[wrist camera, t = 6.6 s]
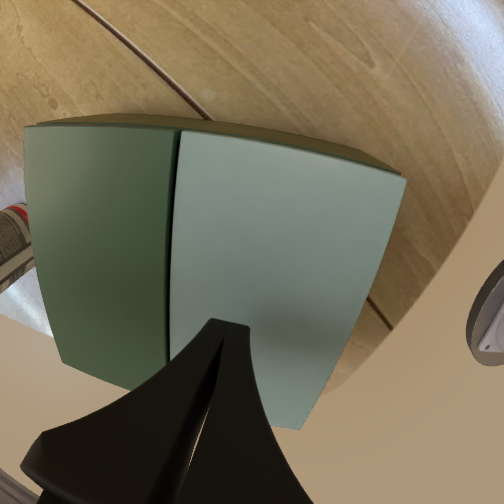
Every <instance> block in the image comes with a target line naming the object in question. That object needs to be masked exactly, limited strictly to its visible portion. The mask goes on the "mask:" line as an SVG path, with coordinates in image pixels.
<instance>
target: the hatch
mask: <svg viewBox="0 0 504 504" xmlns="http://www.w3.org/2000/svg"><path fill="white" fill-rule="evenodd" d="M406 183H407V179H406V178H405V177H403V176H400V175H397V174H394V173H391V172H387V171H384V170H381V169H377V168H374V167H370V166H367V165H363V164H360V163H356V162H352V161H348V160H345V159H341V158H337V157H333V156H329V155H324V154H320V153H316V152H312V151H307V150H303V149H298V148H293V147H288V146H284V145H278V144H273V143H268V142H263V141H257V140H251V139H245V138H239V137H233V136H226V135H219V134H212V133H205V132H197V131H188V130H186V131H182V132H181V140H180V149H179V158H178V168H177V178H176V189H175V201H174V215H173V230H172V249H171V275H170V361H171V360H172V359H173V358H174V357H175V356H176V355H177V354H178V353H179V352H180V351H181V350H182V349H183V348H184V347H185V346H186V345H187V344H188V343H189V342H190V341H191V340H192V339H193V338H194V337H195V336H196V334H197V333H198V332H199V331H200V330H201V329H202V327H203V326H204V325H205V324H206V322H207V321H208V319H210V318H216V319H220V320H225V321H229V322H234V323H238V324H243V325H247V326H249V327H250V329H251V330H250V349H251V358H252V364H253V369H254V374H255V379H256V383H257V387H258V391H259V395H260V398H261V402H262V405H263V408H264V411H265V414H266V416H267V419H268V422H269V424H270V426H276V427H282V428H289V429H296V430H300V429H301V428H302V426H303V424H304V423H305V421H306V419H307V418H308V415H309V414H310V412H311V410H312V409H313V407H314V405H315V404H316V402H317V400H318V398H319V396H320V395H321V393H322V391H323V389H324V387H325V385H326V383H327V381H328V380H329V378H330V376H331V374H332V372H333V370H334V368H335V366H336V364H337V362H338V360H339V358H340V356H341V354H342V352H343V350H344V348H345V345H346V343H347V341H348V339H349V337H350V335H351V333H352V330H353V328H354V326H355V324H356V322H357V319H358V317H359V315H360V312H361V310H362V308H363V305H364V303H365V301H366V298H367V296H368V293H369V291H370V289H371V286H372V284H373V281H374V279H375V276H376V273H377V271H378V268H379V266H380V263H381V260H382V257H383V255H384V252H385V249H386V246H387V244H388V241H389V238H390V235H391V232H392V229H393V226H394V223H395V220H396V217H397V213H398V210H399V207H400V204H401V201H402V197H403V194H404V190H405V187H406ZM208 410H209V409H208Z"/></svg>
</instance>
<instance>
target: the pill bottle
mask: <svg viewBox="0 0 504 504" xmlns="http://www.w3.org/2000/svg"><path fill="white" fill-rule="evenodd" d="M34 266H35V261H34V256H33V250H32V244H31V238H30V231H29V223H28V215H27V206H25V205H23V204H14V205H12V206H10V207H7V208H5V209H3V210H1V211H0V294H1V293H2V292H3V291H5V290H6V289H7V288H8V287H9V286H10V285H12V284H13V283H14V282H15V281H17V280H18V279H19V278H20V277H21V276H23V275H24V274H25V273H26V272H28V271H29V270H30V269H32V268H33V267H34Z"/></svg>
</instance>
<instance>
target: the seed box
mask: <svg viewBox="0 0 504 504" xmlns="http://www.w3.org/2000/svg"><path fill="white" fill-rule="evenodd" d="M186 130H188V131H197V132H205V133H212V134H219V135H226V136H233V137H239V138H245V139H251V140H257V141H263V142H268V143H273V144H278V145H284V146H288V147H293V148H298V149H303V150H307V151H312V152H316V153H320V154H324V155H329V156H333V157H337V158H341V159H345V160H348V161H352V162H356V163H360V164H363V165H367V166H370V167H374V168H377V169H381V170H384V171H387V172H391V173H394V174H397V175H400V176H401V173H400V172H399V171H397V170H395V169H393V168H392V167H390V166H388V165H386V164H385V163H383V162H381V161H379V160H377V159H376V158H374V157H372V156H370V155H368V154H366V153H365V152H363V151H361V150H358V149H355V148H351V147H347V146H343V145H339V144H335V143H331V142H327V141H323V140H319V139H314V138H310V137H305V136H301V135H296V134H291V133H286V132H281V131H276V130H270V129H265V128H259V127H253V126H247V125H240V124H234V123H227V122H219V121H211V120H203V119H194V118H183V117H172V116H159V115H142V114H115V113H113V114H101V115H91V116H82V117H73V118H66V119H58V120H52V121H46V122H40V123H37V124H36V125H30V126H25V127H24V177H25V193H26V205H27V215H28V223H29V231H30V238H31V244H32V250H33V256H34V261H35V266H36V271H37V276H38V281H39V285H40V289H41V294H42V298H43V302H44V305H45V309H46V313H47V316H48V320H49V323H50V327H51V330H52V333H53V336H54V339H55V342H56V345H57V348H58V351H59V354H60V357H61V360H62V362H63V363H64V364H67V365H69V366H71V367H73V368H76V369H78V370H80V371H82V372H84V373H87V374H89V375H91V376H94V377H96V378H99V379H101V380H104V381H106V382H109V383H112V384H114V385H117V386H119V387H122V388H125V389H127V390H130V391H132V390H134V389H135V388H137V387H138V386H140V385H141V384H142V383H144V382H145V381H146V380H148V379H149V378H150V377H152V376H153V375H154V374H156V373H157V372H158V371H159V370H160V369H161V368H163V367H164V366H165V365H166V364H167V363H168V362H170V275H171V249H172V230H173V215H174V201H175V189H176V178H177V168H178V158H179V149H180V140H181V132H182V131H186Z"/></svg>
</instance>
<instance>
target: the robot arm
mask: <svg viewBox="0 0 504 504" xmlns="http://www.w3.org/2000/svg"><path fill="white" fill-rule="evenodd" d="M250 330H251V329H250V327H249V326H247V325H243V324H238V323H234V322H229V321H225V320H220V319H216V318H210V319H208V321H207V322H206V324H205V325H204V326H203V327H202V329H201V330H200V331H199V332H198V333H197V334H196V336H195V337H194V338H193V339H192V340H191V341H190V342H189V343H188V344H187V345H186V346H185V347H184V348H183V349H182V350H181V351H180V352H179V353H178V354H177V355H176V356H175V357H174V358H173V359H172V360H171V361H170V362H168V363H167V364H166V365H165V366H164V367H163V368H161V369H160V370H159V371H158V372H157V373H156V374H154V375H153V376H152V377H150V378H149V379H148V380H146V381H145V382H144V383H142V384H141V385H140V386H138V387H137V388H135V389H134V390H132V391H131V392H129V393H128V394H126V395H124V396H123V397H121V398H119V399H118V400H116V401H114V402H113V403H111V404H109V405H107V406H105V407H103V408H102V409H99V410H98V411H95V412H93V413H91V414H89V415H87V416H85V417H82V418H80V419H78V420H75V421H73V422H70V423H67V424H64V425H62V426H59V427H56V428H53V429H50V430H47V431H43V432H42V433H41V435H40V436H39V437H38V438H37V439H36V440H35V442H34V443H33V445H32V446H31V448H30V449H29V451H28V453H27V454H26V456H25V458H24V460H23V461H22V463H21V465H20V468H21V470H22V471H23V472H24V473H25V474H26V475H27V476H28V477H29V478H30V479H31V480H33V481H34V482H35V483H36V484H37V485H39V486H40V487H41V488H42V489H44V490H43V492H42V494H41V496H38V495H36V494H35V493H33V492H32V491H30V490H29V489H28V488H26V487H25V486H23V485H22V484H20V483H19V482H18V481H16V480H15V479H14V478H12V477H11V476H10V475H8V474H7V473H6V472H4V471H3V470H2V469H1V468H0V504H313V502H312V501H311V499H310V498H309V496H308V495H307V494H306V492H305V491H304V489H303V488H302V486H301V485H300V483H299V481H298V480H297V478H296V477H295V475H294V474H293V472H292V470H291V468H290V467H289V464H288V463H287V461H286V459H285V457H284V455H283V453H282V451H281V449H280V447H279V445H278V443H277V441H276V439H275V436H274V434H273V432H272V429H271V427H270V424H269V422H268V419H267V416H266V414H265V411H264V408H263V405H262V402H261V398H260V395H259V391H258V387H257V383H256V379H255V374H254V369H253V364H252V358H251V349H250ZM478 349H479V350H480V351H487V352H503V353H504V302H503V304H502V306H501V308H500V309H499V311H498V313H497V315H496V317H495V318H494V320H493V322H492V323H491V325H490V327H489V328H488V330H487V332H486V333H485V335H484V337H483V338H482V340H481V341H480V343H479V345H478ZM208 409H209V410H208ZM207 412H208V413H207ZM206 414H207V416H206ZM205 417H206V419H205ZM204 419H205V422H204ZM203 422H204V425H203V428H202V431H201V434H200V437H199V440H198V443H197V446H196V449H195V451H194V454H193V457H192V460H191V456H192V452H193V449H194V446H195V443H196V440H197V437H198V435H199V432H200V429H201V427H202V424H203ZM190 460H191V463H190ZM189 463H190V465H189ZM188 467H189V468H188Z"/></svg>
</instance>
